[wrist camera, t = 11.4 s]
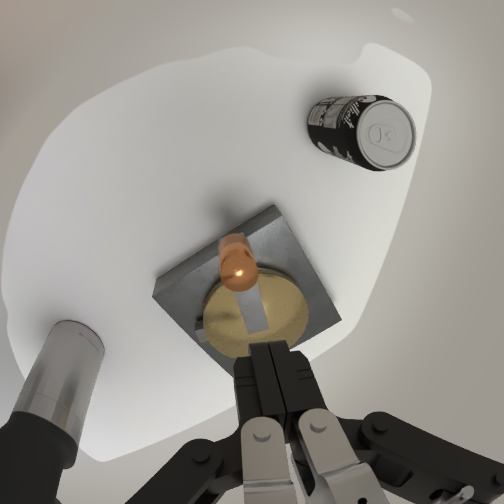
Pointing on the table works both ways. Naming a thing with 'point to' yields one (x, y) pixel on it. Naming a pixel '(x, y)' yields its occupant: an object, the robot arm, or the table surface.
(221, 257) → the gold plate with handle
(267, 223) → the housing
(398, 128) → the beverage can
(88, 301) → the table surface
